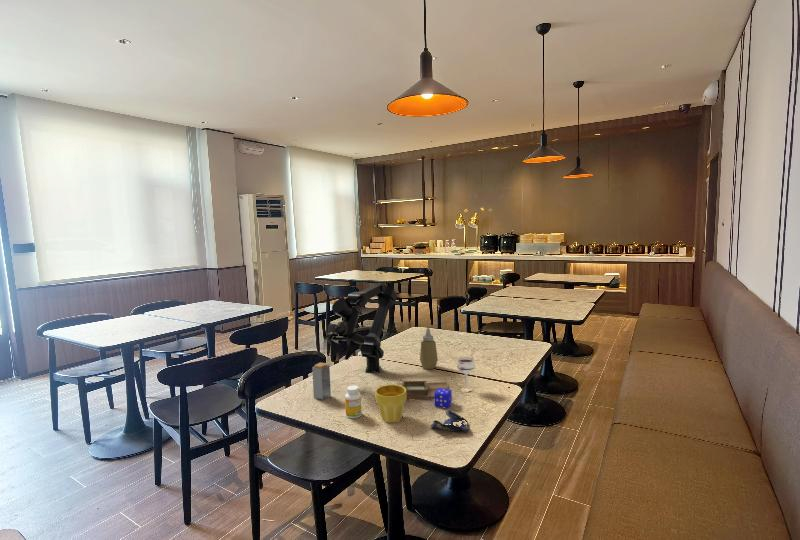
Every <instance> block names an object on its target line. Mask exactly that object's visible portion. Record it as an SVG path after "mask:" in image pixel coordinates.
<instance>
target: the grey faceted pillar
mask: <svg viewBox="0 0 800 540" xmlns="http://www.w3.org/2000/svg"><path fill="white" fill-rule="evenodd" d="M311 368H312V369H311V371H312V391H313V399H315V398H317V399H316V400H319V399H321V400H320V401H325V400H327V399H328V398H330V397H331V373H330V370H331V369H330V364H329V365H328V363H326V362H318V363H316V364H314V366H312V367H311ZM329 396H330V397H329Z"/></svg>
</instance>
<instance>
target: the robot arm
mask: <svg viewBox="0 0 800 540" xmlns="http://www.w3.org/2000/svg"><path fill="white" fill-rule="evenodd" d="M374 297H377V304H378V307H377V310H376V312H375V316H374V319H373V321H372V323H371V327H370V330H369V332H368V334H367V335H361V334H360V333H357V332H355V330H358V327H359V326H358V325H357V323H358V319H359V316H363V313H362V311H361V309H360V308H364V306H366V305H367V304H368V301H369V300H370V299H372V298H374ZM397 299H398V293H397V292H396V291H395V290H394V289H393V288H391V287H389V286H387V285H386V284H385V283H383V282H376V283H374V284H373V285H370V286H368V287H366V288H365V289H363V290H361V291H353V292H349V293H348V295H347V296H346V297H341V296H340V297H338V299H337V300H335V301H334V303H332V306H331V310H332V312H333V313H334V314H336V315H338V316H340V317H341V318H343V320H342V321H340V322H337V324H328V325H327V333H326V334H325V338H324V339H325V340H326V341H327V342H328V344H329V350H330V353H329V356H330V358H329V359H331V360H333V359H334V358H335V356H336V355H337V353H338V352H339V349H341V346H342V344H341V343H342V342H343V341H344V342H346V344H347V345H346V346H347V347H346V350H345V355H344V360H345V361H348V360H350V359H349V358H351V356H352V355H353V354H354V353H355V352H356V351H357V350H358V349H359V351H360V354H361V358H366V367H365V371H364V372H365V373H380V372H381V369H382V368H381V367H382V366H381V365H380V359H383V357H384V355H385V354H384V353H385V351H384V350H383V349H382V348H381V345H382V343H381V339H380V337H381V334H382V331H383V328H384V325H385V322H386V319H387V315H388V313H389V310H390V309H391V308H392V307H394V306H395V303H396V301H397Z"/></svg>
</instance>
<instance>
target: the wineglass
mask: <svg viewBox="0 0 800 540" xmlns="http://www.w3.org/2000/svg"><path fill="white" fill-rule="evenodd" d="M475 366H476V364H475V358H473V357H469V356H463V357H462V356H461V357H458V358H457V363H456V367H457V369H458V370H459V371H460V372H461V373H463V375H464V381H465V387H464V388H465V389H467V388H468V374H471V373H472V372H473V371H474V369H475Z"/></svg>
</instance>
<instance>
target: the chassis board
mask: <svg viewBox="0 0 800 540" xmlns="http://www.w3.org/2000/svg"><path fill="white" fill-rule="evenodd" d="M396 385H400V386H403V387H405V388H406V392H407V399H406V401H410V400H409V399H415V400H435V399H434V393H435V392H436V391H437V389H438V388H440V389H449V387H448V383H447V382H446V381H443V382H442V381H441V382H439V381H438V382H436V381H435V382H427V380H402V381H401V382H397V383H396Z"/></svg>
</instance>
